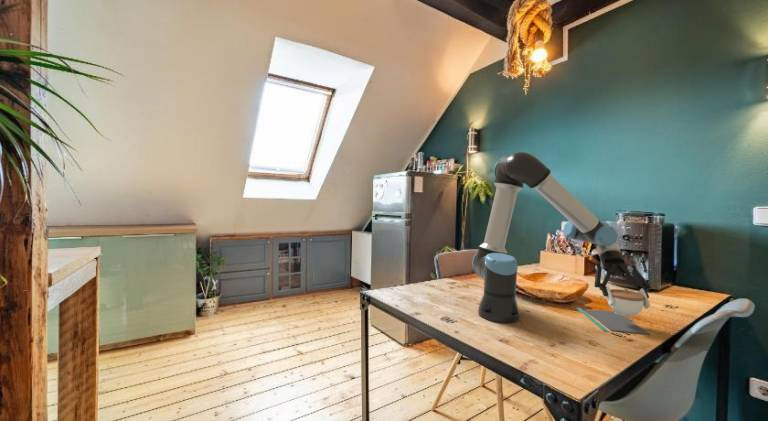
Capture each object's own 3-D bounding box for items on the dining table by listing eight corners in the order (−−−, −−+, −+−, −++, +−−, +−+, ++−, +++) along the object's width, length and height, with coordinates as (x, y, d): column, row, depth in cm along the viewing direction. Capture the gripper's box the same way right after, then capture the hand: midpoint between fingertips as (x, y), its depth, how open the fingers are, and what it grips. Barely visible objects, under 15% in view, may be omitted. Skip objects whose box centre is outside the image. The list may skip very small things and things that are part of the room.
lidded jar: (638, 312, 122) (640, 287, 121) (647, 321, 112) (648, 295, 111) (604, 307, 126) (606, 283, 126) (609, 316, 117) (611, 290, 116)
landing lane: (603, 331, 113) (604, 330, 113) (576, 308, 137) (576, 307, 137) (651, 335, 110) (651, 334, 110) (615, 311, 134) (615, 311, 134)
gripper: (638, 261, 131) (661, 313, 117) (575, 258, 136) (590, 307, 121) (647, 251, 126) (672, 303, 111) (581, 247, 130) (597, 297, 116)
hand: (629, 305), depth 116 cm, fingers closed on lidded jar, 11 cm apart
